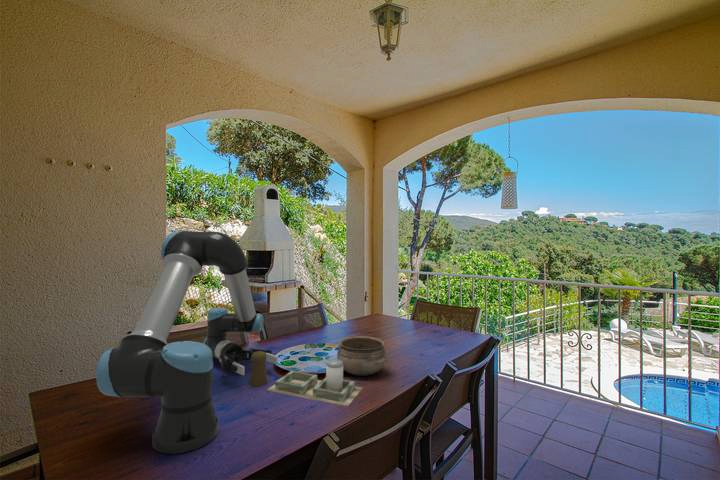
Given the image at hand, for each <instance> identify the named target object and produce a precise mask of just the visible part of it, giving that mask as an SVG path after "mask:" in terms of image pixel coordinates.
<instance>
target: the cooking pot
mask: <svg viewBox="0 0 720 480" xmlns="http://www.w3.org/2000/svg"><path fill="white" fill-rule="evenodd" d="M338 343H339V344H338V350H337V353H336V359H340V360H342V361H343V371H345V372H346V373H348V374H349V375H353V376H356V377H367V376H372V375H373V374H375V373H377V372H379V371H380V370H381V369H382V368H384V366H385V364H386V362H388V359H387V352H386V349H385V347H384V346H385V340H382V339H381V338H378V337H374V336H367V335H354V336H347V337H344V338H342V339H340V340H339V342H338Z"/></svg>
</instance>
